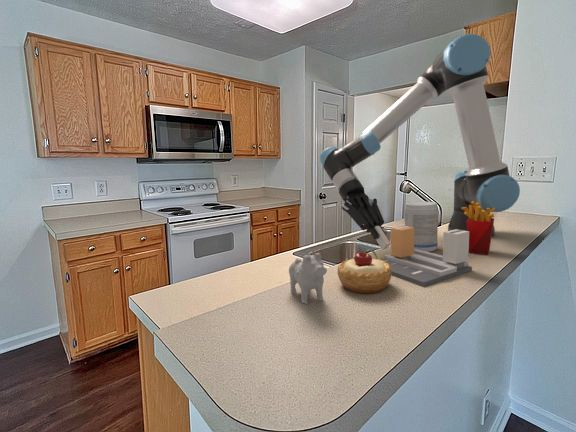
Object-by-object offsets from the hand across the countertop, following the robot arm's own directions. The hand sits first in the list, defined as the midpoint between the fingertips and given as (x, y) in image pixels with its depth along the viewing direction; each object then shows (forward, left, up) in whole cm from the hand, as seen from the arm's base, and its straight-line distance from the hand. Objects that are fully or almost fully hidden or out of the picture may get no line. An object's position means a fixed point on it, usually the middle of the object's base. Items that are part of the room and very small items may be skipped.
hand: (386, 246), depth 92 cm
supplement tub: (-17, -2, -4) cm, 17 cm away
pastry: (+18, +11, -4) cm, 22 cm away
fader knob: (-1, +5, -3) cm, 6 cm away
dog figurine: (+32, +9, -4) cm, 34 cm away
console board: (-1, +10, -4) cm, 11 cm away
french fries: (-26, +10, -4) cm, 28 cm away
